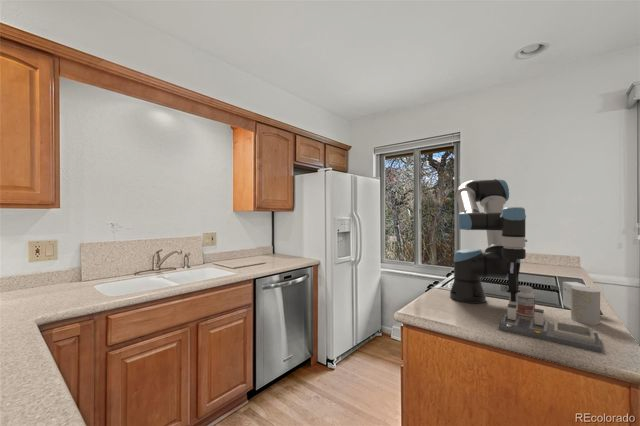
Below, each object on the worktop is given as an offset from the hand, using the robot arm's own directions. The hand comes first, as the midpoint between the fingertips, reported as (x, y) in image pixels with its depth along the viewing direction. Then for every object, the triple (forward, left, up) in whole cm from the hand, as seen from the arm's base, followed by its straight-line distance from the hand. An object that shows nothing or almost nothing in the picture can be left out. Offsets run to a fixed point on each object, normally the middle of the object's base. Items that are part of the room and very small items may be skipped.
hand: (513, 309), depth 109 cm
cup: (+21, +16, -4) cm, 27 cm away
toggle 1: (0, -4, -2) cm, 5 cm away
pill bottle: (+3, +10, -4) cm, 11 cm away
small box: (+19, +31, -4) cm, 37 cm away
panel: (+10, -7, -4) cm, 13 cm away
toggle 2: (+8, -4, -2) cm, 9 cm away
